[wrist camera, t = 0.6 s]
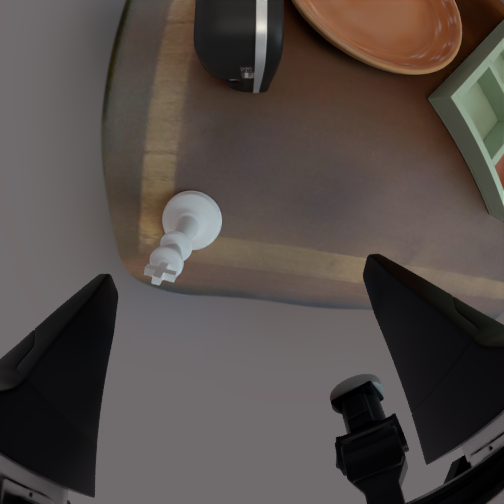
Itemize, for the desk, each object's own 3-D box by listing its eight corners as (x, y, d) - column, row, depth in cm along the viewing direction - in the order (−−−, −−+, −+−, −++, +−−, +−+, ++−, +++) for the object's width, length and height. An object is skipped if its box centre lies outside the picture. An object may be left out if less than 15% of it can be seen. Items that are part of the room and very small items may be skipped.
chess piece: (214, 253, 24) (195, 329, 15) (159, 239, 24) (112, 305, 14) (228, 198, 22) (212, 249, 13) (169, 184, 22) (115, 224, 13)
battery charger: (218, 17, 16) (193, -63, 6) (268, 17, 16) (282, -65, 6) (216, 96, 19) (181, 61, 8) (267, 96, 19) (285, 59, 9)
